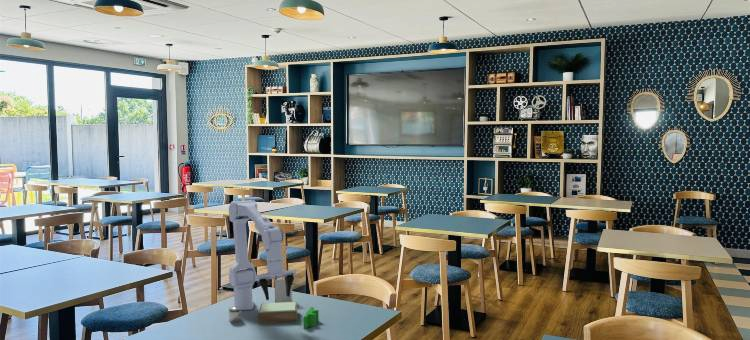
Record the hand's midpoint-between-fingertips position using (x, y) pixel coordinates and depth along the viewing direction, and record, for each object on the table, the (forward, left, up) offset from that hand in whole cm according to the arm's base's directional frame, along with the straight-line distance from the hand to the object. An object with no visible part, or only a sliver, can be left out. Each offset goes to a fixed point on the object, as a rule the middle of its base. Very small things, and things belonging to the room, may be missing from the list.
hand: (277, 297), depth 196 cm
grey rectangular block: (-28, 0, -11) cm, 30 cm away
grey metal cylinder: (-8, -17, -11) cm, 21 cm away
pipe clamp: (-1, +12, -11) cm, 16 cm away
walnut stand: (-9, -1, -11) cm, 14 cm away
